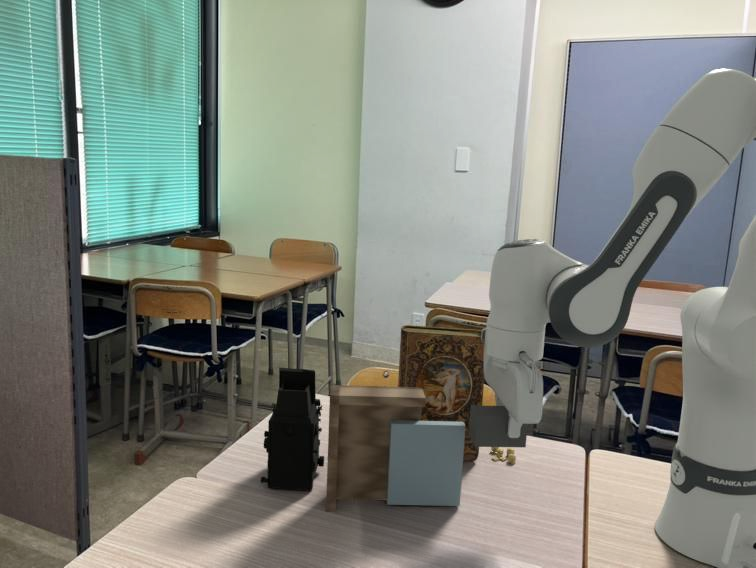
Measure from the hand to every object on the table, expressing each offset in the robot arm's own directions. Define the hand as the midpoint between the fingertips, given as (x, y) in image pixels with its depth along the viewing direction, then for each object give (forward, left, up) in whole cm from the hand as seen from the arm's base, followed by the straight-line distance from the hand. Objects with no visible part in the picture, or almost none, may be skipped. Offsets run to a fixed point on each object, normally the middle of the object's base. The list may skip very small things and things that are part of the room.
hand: (507, 428), depth 95 cm
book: (+7, -23, -15) cm, 29 cm away
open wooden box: (+21, -3, -15) cm, 26 cm away
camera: (+34, -13, -15) cm, 40 cm away
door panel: (+12, -3, -15) cm, 20 cm away
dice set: (-6, -22, -16) cm, 28 cm away
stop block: (+2, 0, -2) cm, 3 cm away
